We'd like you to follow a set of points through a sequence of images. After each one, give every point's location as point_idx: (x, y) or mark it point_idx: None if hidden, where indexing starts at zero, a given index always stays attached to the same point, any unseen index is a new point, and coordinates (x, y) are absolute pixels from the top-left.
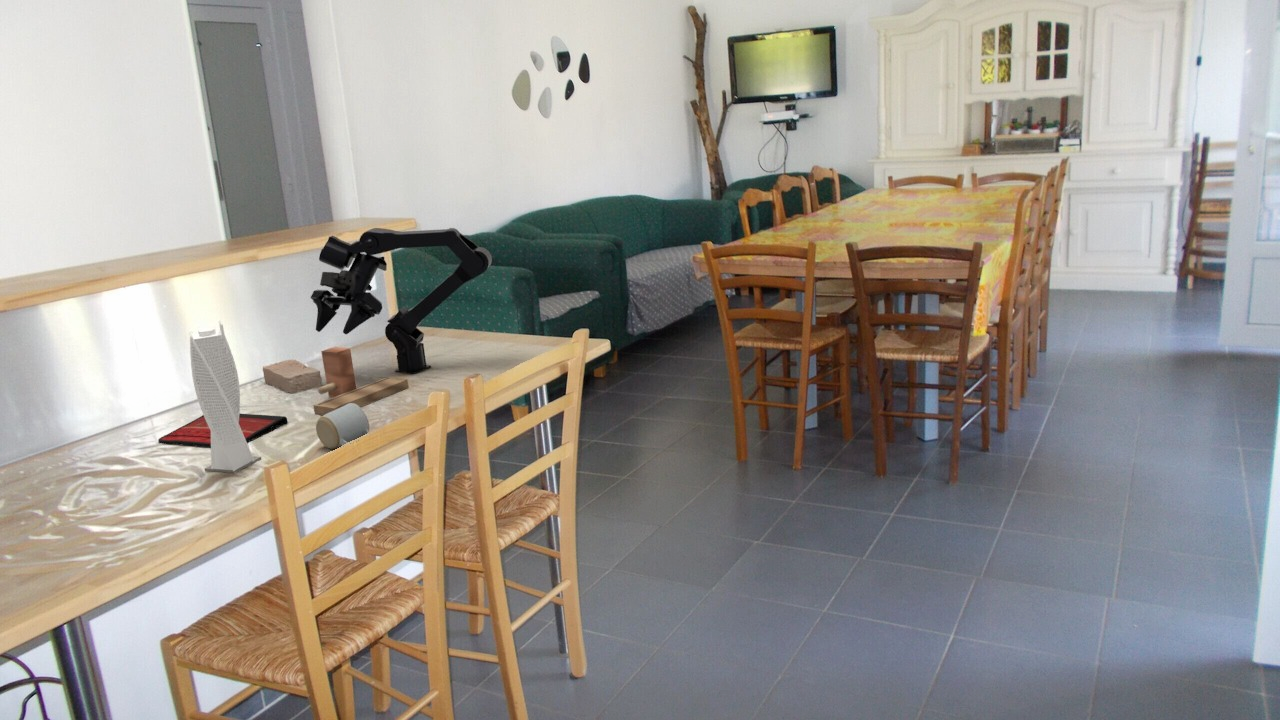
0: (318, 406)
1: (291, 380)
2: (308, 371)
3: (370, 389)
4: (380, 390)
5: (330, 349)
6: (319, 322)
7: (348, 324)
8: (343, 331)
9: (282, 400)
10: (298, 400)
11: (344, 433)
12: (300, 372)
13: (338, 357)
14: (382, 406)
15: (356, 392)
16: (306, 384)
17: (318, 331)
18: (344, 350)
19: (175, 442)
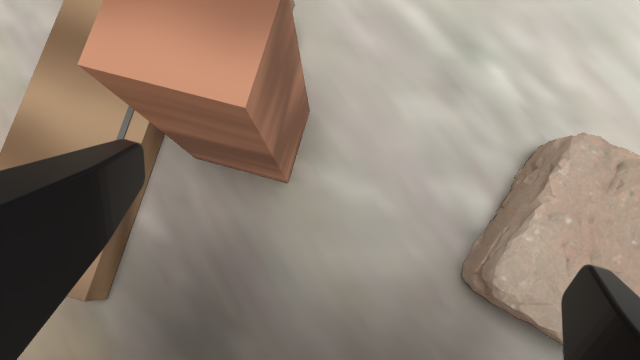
0: None
1: (563, 143)
2: (541, 244)
3: (79, 98)
4: (27, 93)
5: (233, 25)
6: (630, 340)
7: (22, 165)
8: (128, 140)
9: (506, 56)
10: (428, 61)
11: None
12: (583, 228)
13: None
14: (4, 17)
15: None
16: (507, 207)
17: (569, 285)
18: (100, 14)
19: None
